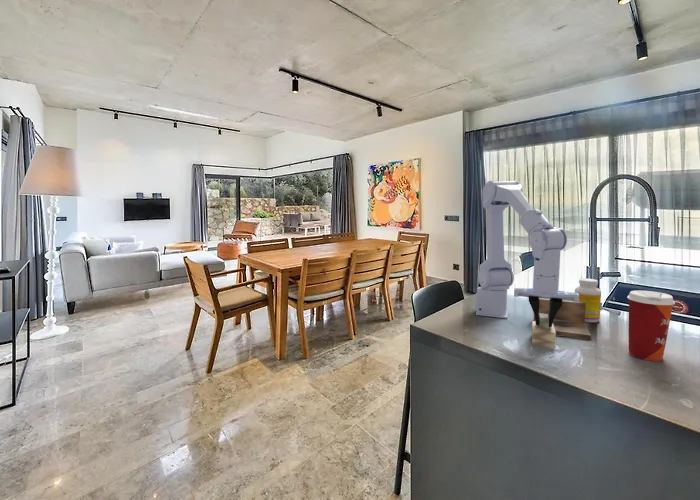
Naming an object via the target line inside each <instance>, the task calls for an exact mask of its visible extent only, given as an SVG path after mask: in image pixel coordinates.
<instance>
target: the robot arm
mask: <svg viewBox="0 0 700 500" xmlns="http://www.w3.org/2000/svg"><path fill="white" fill-rule="evenodd" d="M523 187H524V186H522V185H521V183H520V182H519V181H518V180H496V181H495V180H494V181H493V180H487V182H486V183H485V185H484V186H483V188H482V192H481V193H482V207H483V209H485V224H486V225H485V227H486V228H485V229H486V255H487V257H486V258H487V259H485V260H484V261H483V262H482V263H481V264H479V267H478V268H479V269H478V270H479V271H478V275H477V280H478V284H479V285H480V286H478V287H477V289H476V303H475V308H476V309H475V310H476V311H475V315H476V316H483V317H491V318H498V319H499V318H500V319H508V316H509V315H508V314H509V310H508V309H507V308H508V307H507V306H508V305H507V304H508V303H507V302H508V290H510V287H511V286H512V285H513V284H514V281H515V275H514V272H513V269H512V264H511V263H510V262H508V261H507V260H506V259H505V242H504V240H505V239H504V235H505V234H504V211H505V210H506V209H507V208H509V207H512V209H513V210H514V211H515V212H516V213H517V214H518V215H519V216H520V217H519V224H520V225H521V226H522V228H523V229H524V230H525V232H527V235H528V236H529V237H530V238H529V245H530V248H531V255H532V257H533V275H532V276H533V277H532V288H528V287H527V288H525V287H523V288H521V287H518V288H517V287H514V292H513V297H514V298H515V297H516V298H517V297H523V298H528V303H529V305H530V307H531V309H532V312H533V317H534V316H535V321H536V325H538V326H539V304H540V303H539V298H544V299H550V308H549V327H552V323H553V320H554V318H555V316H556V314H557V312H558V310H559V309H560V308H561V306H562V304H563V302H562V300H566V301H574V302H579V294H578V293H575V292H571V291H564V290H559V285H560V267H561V266H560V265H561V251H562V250H564V249H565V248H566V247H567V246H566V245H567V243H568V242H567V241H568V238H567V234H566V232H565V231H564V229H563V228H560V227H556V226H553V225H552V224H551V223H550V222H549V220H548V219H547V218H546V217H545V215H544V214H543V211H542V210H540V209H536V208H532V206H531V205H530V203H529V202H528V200H527V198H526V197H525V195H524V194H523Z"/></svg>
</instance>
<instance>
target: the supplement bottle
mask: <svg viewBox="0 0 700 500" xmlns="http://www.w3.org/2000/svg"><path fill="white" fill-rule="evenodd" d="M578 283H579V285H578V286H576V287H575V288H574V293H578V294H579V301H580V302H585V303H586V309H585V323H589V324H590V323H591V324H595V323H598V322H599V321H600V314H601V313H600V312H601V301H602V300H601V296H602V291H601V290H600V289H599V288H598V287H597V286H598V285H599V281H598V279H594V278H585V277H584V278H579V280H578Z"/></svg>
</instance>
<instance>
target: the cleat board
mask: <svg viewBox="0 0 700 500" xmlns="http://www.w3.org/2000/svg"><path fill="white" fill-rule="evenodd" d="M562 302H563V304H562V306H561V308H560V309H559V310H558V312H557V314H556V316H555V318H554V320H553V325H554V328H555V332H556V336H560V337H568V338H576V339H583V340H584V339H585V340H592V334H591V332H590V330H589V328H588V326H587V325H586V322H585V309H586V303H585V302H580V301H579V302H574V301H566V300H562ZM539 303H540V304H539V313H542V314H548V317H549V308H550V299H544V298H539ZM533 321H535V316H534V315H533Z"/></svg>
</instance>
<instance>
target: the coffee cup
mask: <svg viewBox="0 0 700 500" xmlns="http://www.w3.org/2000/svg"><path fill="white" fill-rule="evenodd" d="M626 298H627V299H628V354H629V355H631V356H632V357H634V358H637V359H640V360H643V361H650V362H660V361H663V358H664V354H665V349H666V345H667V344H666V343H667V340H668V339H667V338H668V334H669V327H670V323H671V316H672V311H673V306H674V305H675V304H676V302H675V301H674V297H673V296H672V295H671V294H668V293H665V292H659V291H651V290H631V291H630V292H629V294H628V295H627V297H626Z"/></svg>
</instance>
